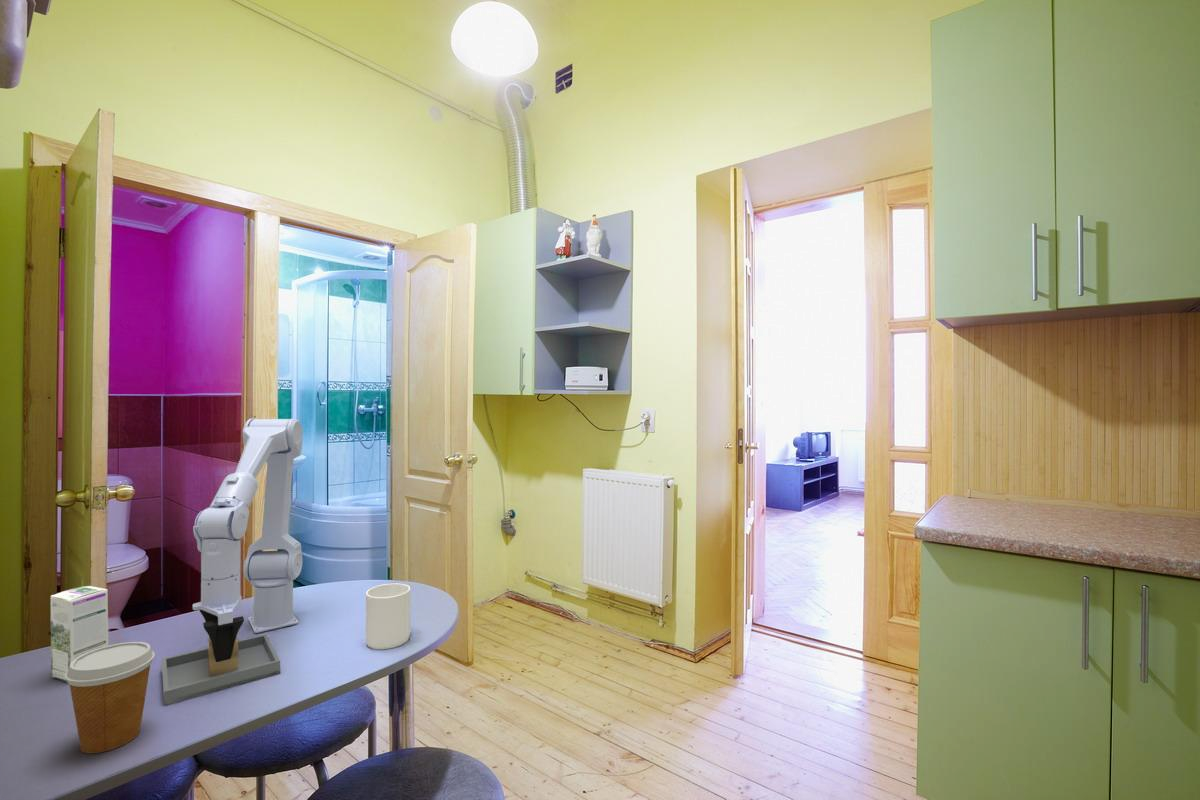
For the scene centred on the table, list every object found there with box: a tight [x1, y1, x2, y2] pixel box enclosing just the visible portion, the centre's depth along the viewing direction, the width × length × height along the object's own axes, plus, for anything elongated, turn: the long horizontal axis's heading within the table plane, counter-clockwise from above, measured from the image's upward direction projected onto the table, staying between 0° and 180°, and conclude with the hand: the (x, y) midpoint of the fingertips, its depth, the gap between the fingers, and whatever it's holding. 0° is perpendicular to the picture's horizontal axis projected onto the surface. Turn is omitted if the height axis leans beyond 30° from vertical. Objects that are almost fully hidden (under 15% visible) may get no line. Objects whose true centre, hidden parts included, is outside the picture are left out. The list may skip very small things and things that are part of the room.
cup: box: [365, 582, 411, 650], centre depth 111 cm, size 8×12×10 cm
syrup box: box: [50, 585, 109, 682], centre depth 96 cm, size 6×6×14 cm
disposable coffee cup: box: [65, 641, 156, 754], centre depth 77 cm, size 10×10×12 cm
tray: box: [161, 633, 281, 706], centre depth 96 cm, size 14×16×2 cm
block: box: [207, 636, 239, 676], centre depth 96 cm, size 4×4×5 cm
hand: (220, 651), depth 96 cm, fingers open, 7 cm apart
